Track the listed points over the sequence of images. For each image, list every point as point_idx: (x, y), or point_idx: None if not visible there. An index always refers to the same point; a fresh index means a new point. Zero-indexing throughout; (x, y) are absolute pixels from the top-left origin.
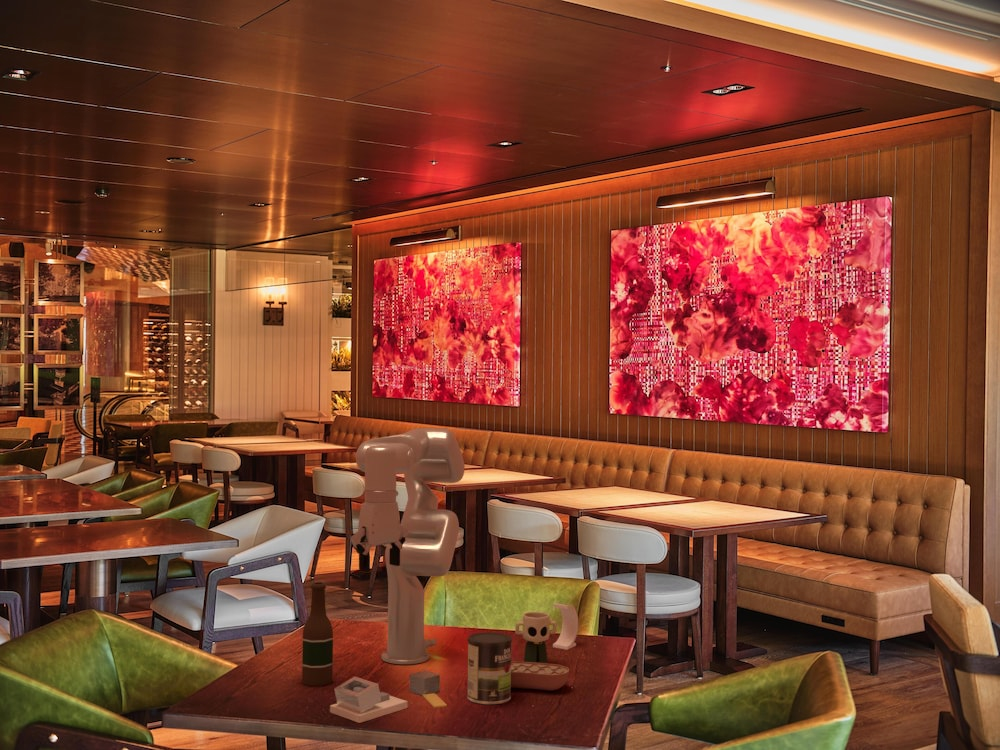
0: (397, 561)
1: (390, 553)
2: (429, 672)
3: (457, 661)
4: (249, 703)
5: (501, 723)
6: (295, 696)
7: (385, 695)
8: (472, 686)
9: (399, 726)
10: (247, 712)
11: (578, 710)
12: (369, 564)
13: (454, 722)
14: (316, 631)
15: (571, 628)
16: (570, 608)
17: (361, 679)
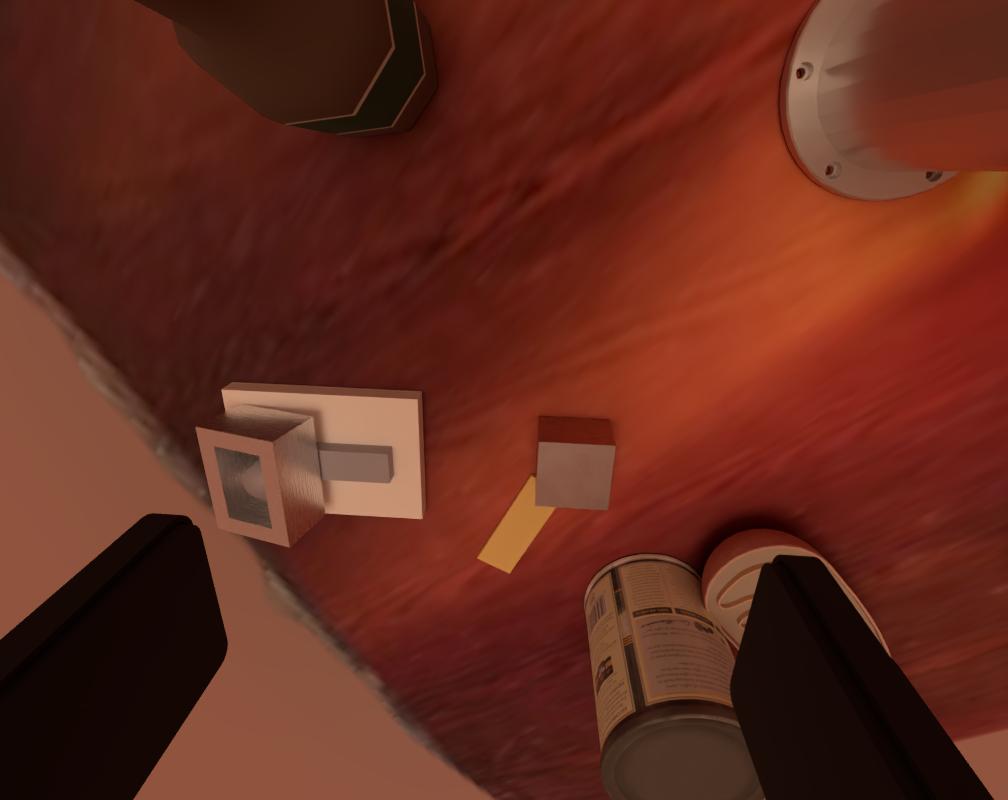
0: (749, 749)
1: (852, 743)
2: (605, 472)
3: (968, 292)
4: (41, 101)
5: (509, 705)
6: (216, 164)
7: (373, 482)
8: (589, 624)
9: (321, 575)
10: (8, 187)
11: None
12: (173, 732)
13: (438, 640)
14: (216, 77)
15: None
16: None
17: (275, 478)
